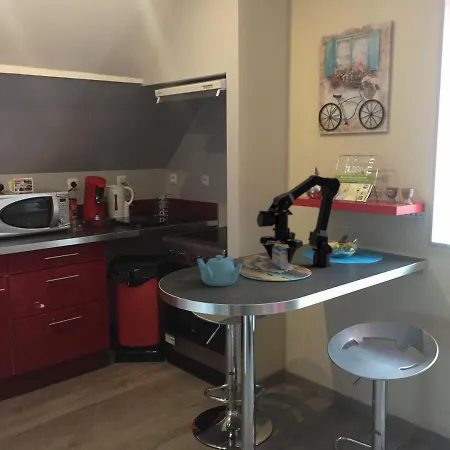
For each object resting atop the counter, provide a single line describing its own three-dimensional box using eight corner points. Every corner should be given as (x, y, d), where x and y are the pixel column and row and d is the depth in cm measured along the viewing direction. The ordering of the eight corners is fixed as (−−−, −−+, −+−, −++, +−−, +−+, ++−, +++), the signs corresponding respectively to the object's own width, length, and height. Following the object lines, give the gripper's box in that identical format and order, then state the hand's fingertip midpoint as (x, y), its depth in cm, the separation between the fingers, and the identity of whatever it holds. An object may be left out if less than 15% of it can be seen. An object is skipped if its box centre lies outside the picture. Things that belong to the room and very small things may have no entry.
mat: (295, 268, 224) (295, 267, 224) (280, 273, 215) (280, 272, 215) (282, 266, 229) (282, 265, 229) (266, 271, 220) (266, 270, 220)
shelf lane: (282, 266, 229) (282, 258, 229) (266, 271, 220) (266, 263, 219) (257, 261, 238) (257, 254, 237) (240, 266, 228) (240, 258, 228)
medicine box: (271, 265, 225) (271, 246, 224) (280, 264, 227) (280, 245, 226) (280, 269, 218) (281, 249, 217) (289, 268, 220) (290, 248, 218)
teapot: (243, 286, 195) (244, 258, 193) (205, 289, 191) (205, 260, 190) (232, 277, 210) (233, 251, 208) (196, 279, 206) (196, 252, 204)
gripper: (309, 225, 220) (309, 261, 222) (273, 221, 232) (273, 255, 234) (296, 228, 211) (295, 265, 214) (259, 224, 223) (258, 259, 225)
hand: (280, 261), depth 222 cm, fingers closed on medicine box, 9 cm apart
